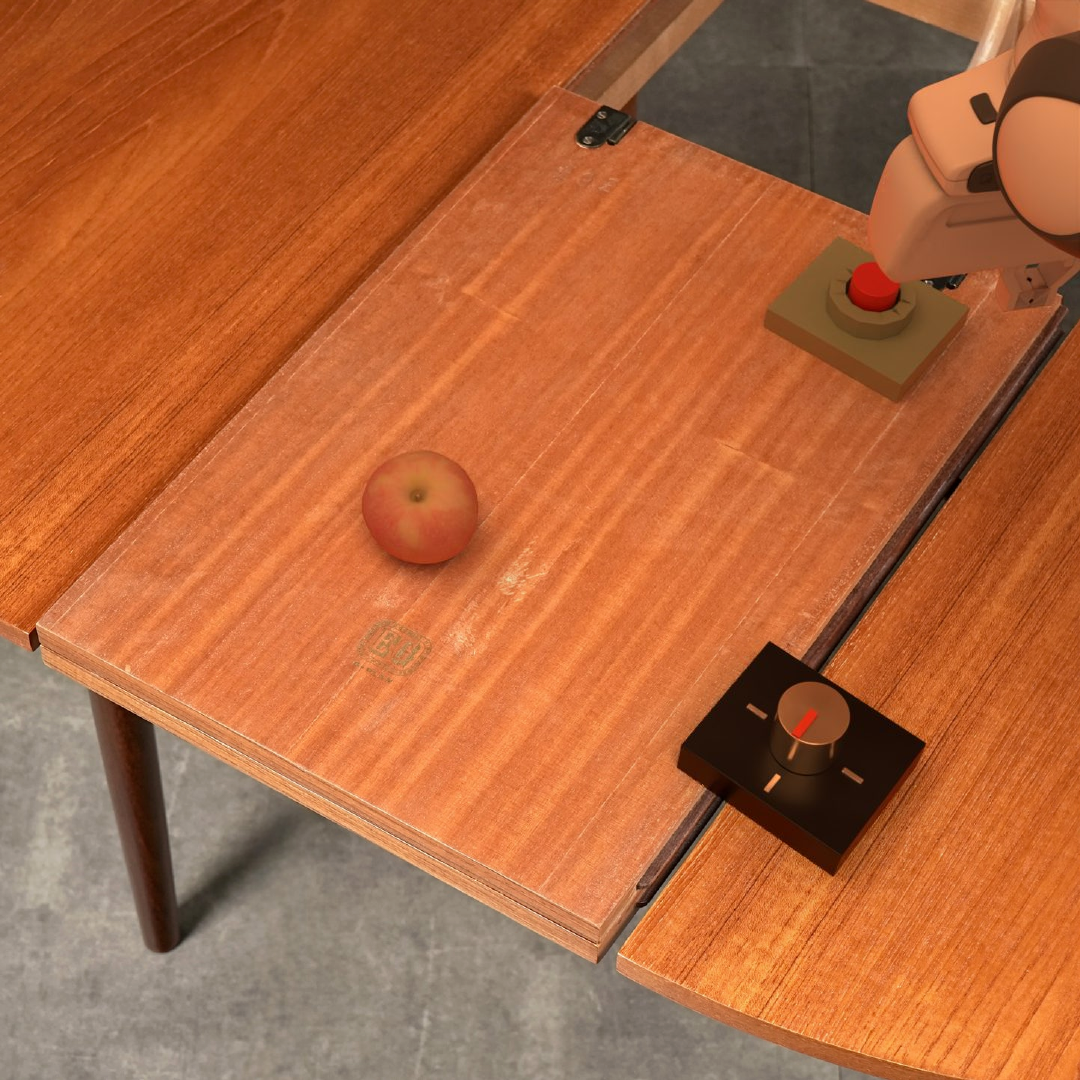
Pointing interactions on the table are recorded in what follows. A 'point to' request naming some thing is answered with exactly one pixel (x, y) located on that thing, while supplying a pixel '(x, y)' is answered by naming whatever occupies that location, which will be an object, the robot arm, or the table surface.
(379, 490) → the apple
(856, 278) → the button
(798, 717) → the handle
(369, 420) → the table surface
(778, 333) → the button block
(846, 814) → the panel
